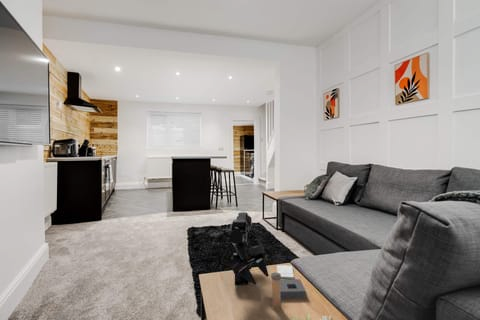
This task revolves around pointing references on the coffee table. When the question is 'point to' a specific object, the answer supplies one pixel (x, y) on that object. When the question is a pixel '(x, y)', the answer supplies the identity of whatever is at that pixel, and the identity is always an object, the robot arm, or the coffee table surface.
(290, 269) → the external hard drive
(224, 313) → the coffee table surface
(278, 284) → the plug
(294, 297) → the grey peg base
